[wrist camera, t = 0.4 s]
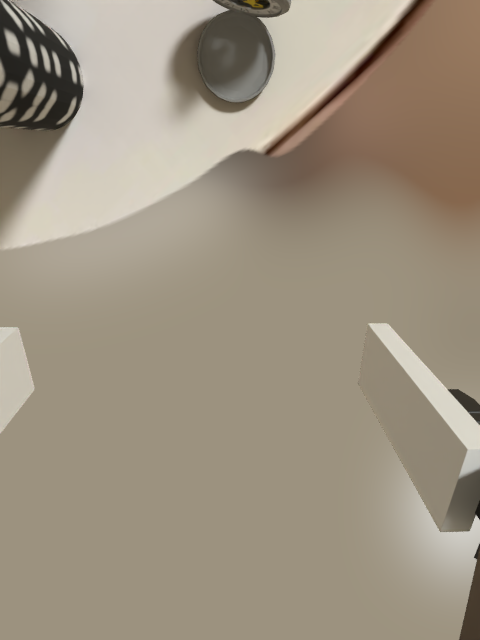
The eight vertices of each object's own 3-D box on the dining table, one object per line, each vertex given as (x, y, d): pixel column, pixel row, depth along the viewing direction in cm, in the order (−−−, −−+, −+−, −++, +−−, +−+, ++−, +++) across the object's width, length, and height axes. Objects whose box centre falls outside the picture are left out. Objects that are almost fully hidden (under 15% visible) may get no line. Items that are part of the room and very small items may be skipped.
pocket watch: (216, 115, 35) (213, 105, 26) (176, 10, 32) (156, -44, 23) (300, 77, 34) (327, 52, 25) (267, -37, 31) (285, -112, 22)
